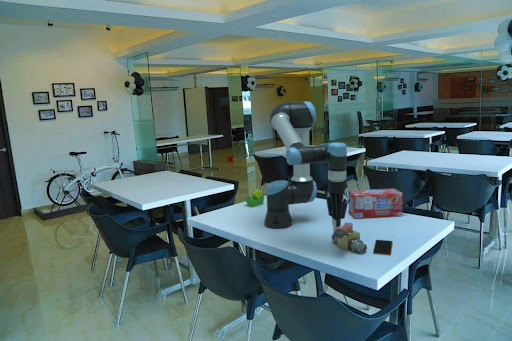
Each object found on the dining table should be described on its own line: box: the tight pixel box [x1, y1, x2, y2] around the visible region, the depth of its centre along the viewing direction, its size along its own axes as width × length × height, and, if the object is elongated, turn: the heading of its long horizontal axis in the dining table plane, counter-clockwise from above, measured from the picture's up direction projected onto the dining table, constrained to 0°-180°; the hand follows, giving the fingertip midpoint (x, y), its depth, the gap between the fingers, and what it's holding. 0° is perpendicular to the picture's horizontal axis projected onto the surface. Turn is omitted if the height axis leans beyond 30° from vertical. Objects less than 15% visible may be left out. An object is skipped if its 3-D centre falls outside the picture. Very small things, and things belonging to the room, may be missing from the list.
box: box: [348, 188, 404, 220], centre depth 222 cm, size 27×13×14 cm, turn 92°
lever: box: [334, 222, 354, 238], centre depth 171 cm, size 4×15×4 cm, turn 148°
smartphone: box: [372, 239, 393, 257], centre depth 175 cm, size 8×17×1 cm, turn 159°
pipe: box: [331, 230, 368, 255], centre depth 177 cm, size 18×7×8 cm, turn 29°
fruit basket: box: [244, 188, 266, 208], centre depth 252 cm, size 11×9×11 cm
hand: (336, 233), depth 171 cm, fingers closed
